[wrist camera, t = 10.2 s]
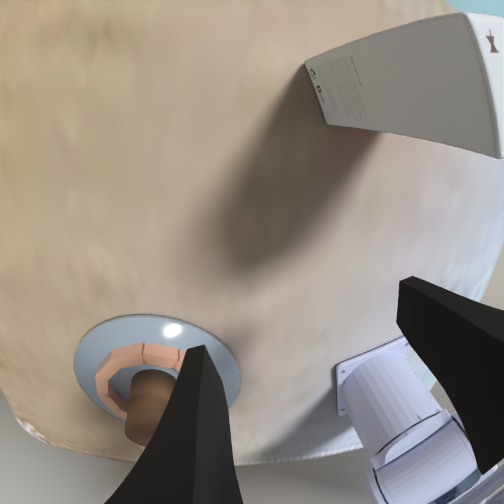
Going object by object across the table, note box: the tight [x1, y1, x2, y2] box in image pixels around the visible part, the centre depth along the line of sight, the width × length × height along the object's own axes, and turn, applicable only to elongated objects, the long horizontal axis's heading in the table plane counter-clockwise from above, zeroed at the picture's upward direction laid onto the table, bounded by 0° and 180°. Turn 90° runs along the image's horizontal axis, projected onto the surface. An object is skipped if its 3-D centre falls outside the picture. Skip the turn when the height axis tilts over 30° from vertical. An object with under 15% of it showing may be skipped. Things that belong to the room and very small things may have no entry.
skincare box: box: [305, 12, 504, 159], centre depth 10 cm, size 6×4×12 cm
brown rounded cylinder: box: [125, 369, 177, 446], centre depth 19 cm, size 4×4×5 cm
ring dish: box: [74, 314, 241, 421], centre depth 21 cm, size 14×14×2 cm
